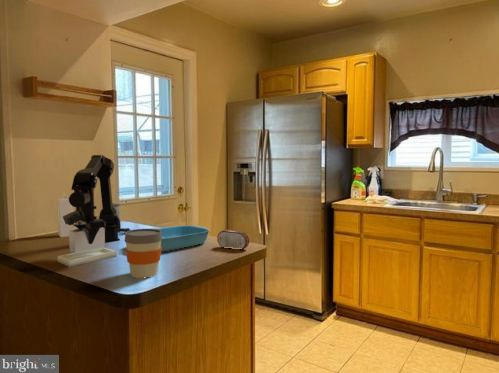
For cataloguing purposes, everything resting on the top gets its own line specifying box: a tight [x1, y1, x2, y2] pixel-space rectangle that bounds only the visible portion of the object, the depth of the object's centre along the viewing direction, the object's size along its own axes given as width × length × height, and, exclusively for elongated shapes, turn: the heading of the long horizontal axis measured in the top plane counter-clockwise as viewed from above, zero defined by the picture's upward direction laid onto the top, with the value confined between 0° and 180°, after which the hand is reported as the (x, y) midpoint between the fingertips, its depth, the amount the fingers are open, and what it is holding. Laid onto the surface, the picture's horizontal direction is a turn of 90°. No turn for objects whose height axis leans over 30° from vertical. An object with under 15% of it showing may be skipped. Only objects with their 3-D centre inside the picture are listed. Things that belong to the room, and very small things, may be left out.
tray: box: [57, 246, 117, 268], centre depth 151 cm, size 19×10×2 cm, turn 139°
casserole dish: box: [157, 224, 210, 253], centre depth 175 cm, size 37×22×7 cm, turn 136°
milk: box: [56, 192, 74, 238], centre depth 192 cm, size 6×6×22 cm
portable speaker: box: [217, 228, 250, 250], centre depth 169 cm, size 15×3×8 cm, turn 65°
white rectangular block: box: [68, 227, 106, 253], centre depth 150 cm, size 5×12×8 cm, turn 139°
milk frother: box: [99, 203, 131, 233], centre depth 202 cm, size 14×16×15 cm
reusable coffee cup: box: [124, 228, 162, 279], centre depth 132 cm, size 13×13×15 cm
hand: (87, 242), depth 151 cm, fingers closed on white rectangular block, 5 cm apart
